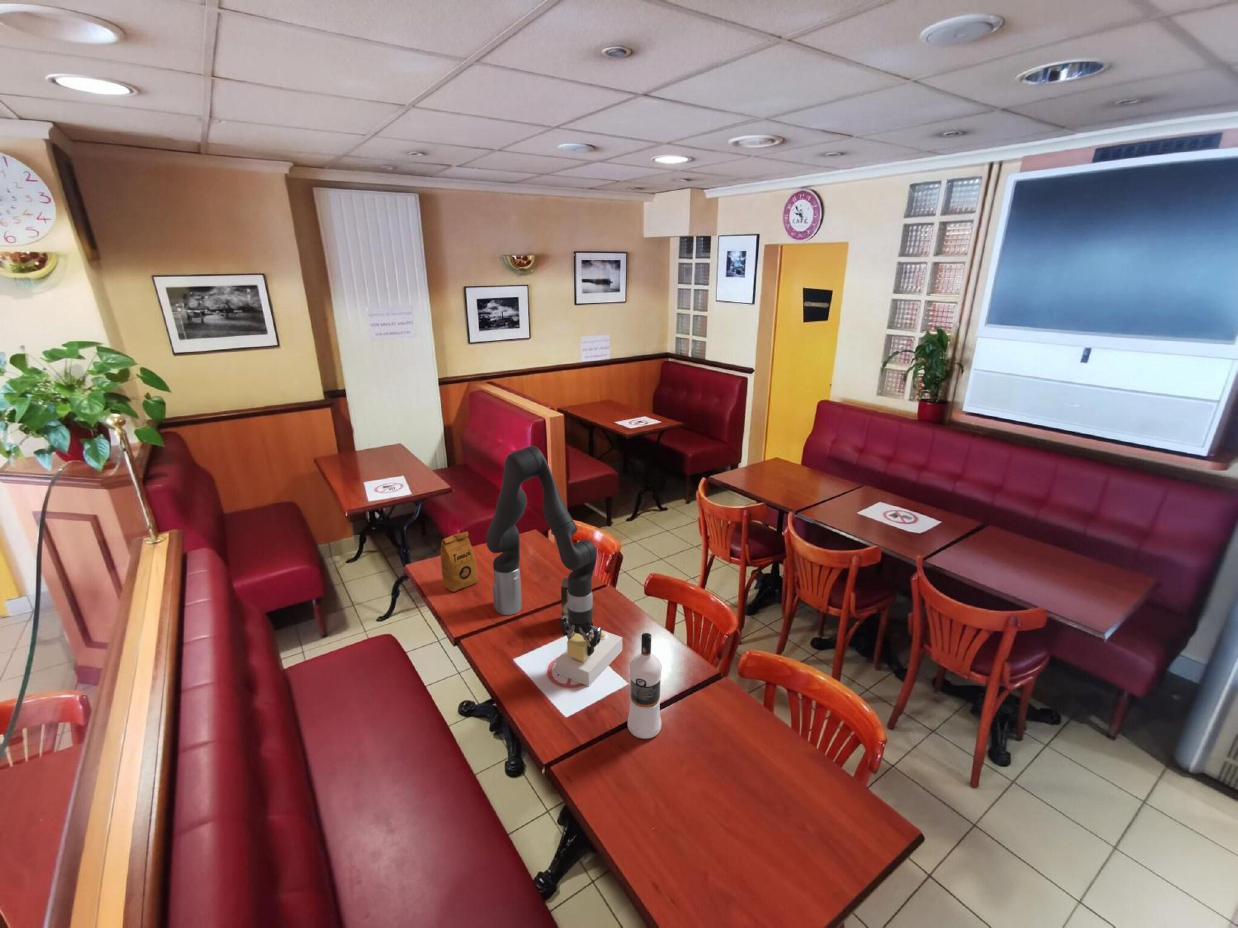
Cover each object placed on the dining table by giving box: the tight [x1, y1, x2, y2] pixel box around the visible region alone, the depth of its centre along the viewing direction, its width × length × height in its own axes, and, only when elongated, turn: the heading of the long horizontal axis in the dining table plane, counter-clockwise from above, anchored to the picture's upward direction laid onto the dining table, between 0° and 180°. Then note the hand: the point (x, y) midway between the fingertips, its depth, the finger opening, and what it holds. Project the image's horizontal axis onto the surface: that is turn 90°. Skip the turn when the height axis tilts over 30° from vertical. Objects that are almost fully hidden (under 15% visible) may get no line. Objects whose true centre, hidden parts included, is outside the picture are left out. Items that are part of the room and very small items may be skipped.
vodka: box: [627, 632, 662, 740], centre depth 155 cm, size 9×9×30 cm
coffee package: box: [440, 531, 479, 593], centre depth 227 cm, size 10×12×22 cm
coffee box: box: [560, 577, 571, 628], centre depth 204 cm, size 9×6×16 cm
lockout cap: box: [566, 633, 595, 662], centre depth 180 cm, size 6×6×5 cm
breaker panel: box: [555, 629, 623, 687], centre depth 186 cm, size 12×20×6 cm, turn 150°
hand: (581, 650), depth 180 cm, fingers closed on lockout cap, 6 cm apart
